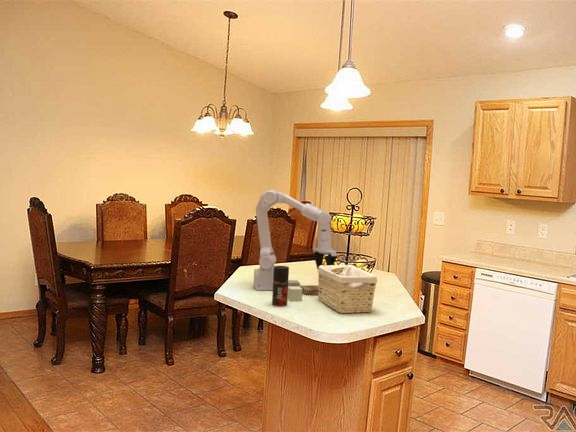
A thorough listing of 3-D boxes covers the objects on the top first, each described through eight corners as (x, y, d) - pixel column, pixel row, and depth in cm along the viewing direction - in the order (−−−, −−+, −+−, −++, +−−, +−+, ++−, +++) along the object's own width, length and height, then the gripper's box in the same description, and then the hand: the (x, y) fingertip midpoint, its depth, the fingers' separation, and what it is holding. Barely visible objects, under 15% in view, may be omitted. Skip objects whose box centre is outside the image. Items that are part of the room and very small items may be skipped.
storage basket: (314, 299, 205) (316, 264, 204) (349, 297, 210) (351, 264, 209) (337, 315, 182) (340, 276, 181) (376, 313, 187) (379, 275, 186)
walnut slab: (304, 296, 209) (304, 289, 209) (299, 292, 217) (300, 285, 217) (322, 296, 211) (322, 289, 211) (316, 292, 219) (317, 285, 219)
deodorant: (274, 306, 189) (276, 268, 188) (270, 302, 195) (272, 265, 194) (288, 306, 191) (290, 268, 190) (284, 302, 197) (286, 265, 195)
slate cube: (288, 294, 211) (288, 282, 210) (285, 291, 215) (286, 280, 215) (299, 294, 212) (299, 282, 211) (296, 291, 217) (297, 280, 216)
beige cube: (290, 301, 199) (290, 289, 199) (287, 298, 204) (287, 286, 203) (301, 301, 200) (302, 289, 200) (298, 298, 205) (299, 286, 205)
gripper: (341, 240, 209) (342, 271, 210) (322, 237, 222) (322, 267, 223) (328, 241, 206) (328, 273, 207) (309, 238, 218) (309, 268, 219)
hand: (324, 270), depth 214 cm, fingers open, 7 cm apart
